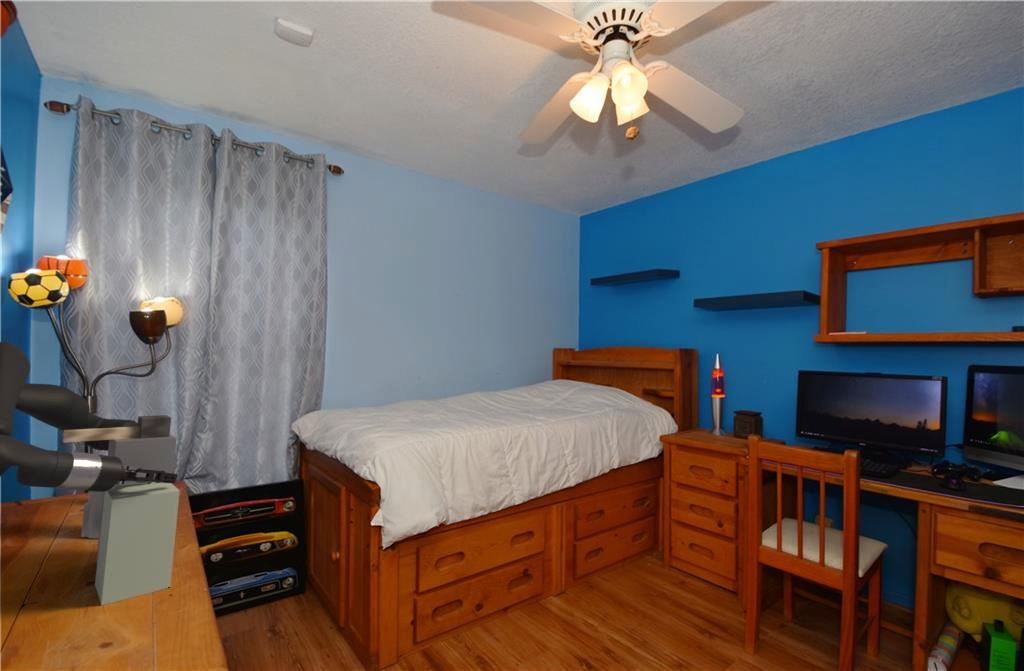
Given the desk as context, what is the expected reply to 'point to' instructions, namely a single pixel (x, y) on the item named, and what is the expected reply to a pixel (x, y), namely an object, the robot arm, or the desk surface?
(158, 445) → the stand
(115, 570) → the stand
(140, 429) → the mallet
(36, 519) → the desk surface
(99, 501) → the robot arm
